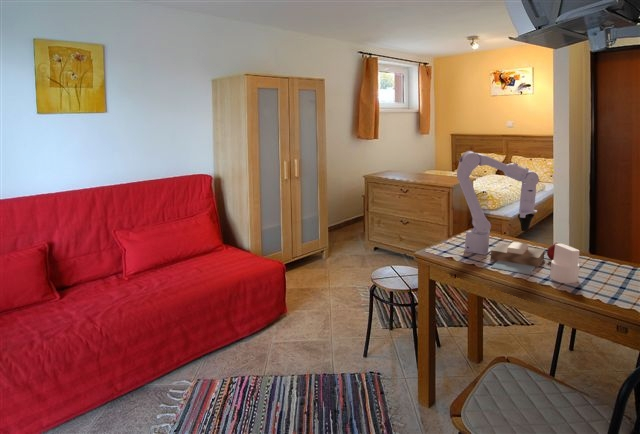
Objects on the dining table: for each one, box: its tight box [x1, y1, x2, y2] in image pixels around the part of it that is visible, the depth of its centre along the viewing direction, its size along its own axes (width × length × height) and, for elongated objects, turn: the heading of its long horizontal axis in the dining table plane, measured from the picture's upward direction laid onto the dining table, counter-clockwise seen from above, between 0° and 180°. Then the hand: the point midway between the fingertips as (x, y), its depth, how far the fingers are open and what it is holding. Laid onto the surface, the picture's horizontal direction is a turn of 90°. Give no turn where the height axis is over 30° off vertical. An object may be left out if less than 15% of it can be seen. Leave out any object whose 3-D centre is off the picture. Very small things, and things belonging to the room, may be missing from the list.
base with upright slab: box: [549, 243, 581, 284], centre depth 160 cm, size 9×9×12 cm
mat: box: [490, 260, 536, 276], centre depth 174 cm, size 14×10×1 cm
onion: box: [546, 242, 559, 261], centre depth 178 cm, size 6×6×8 cm
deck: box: [490, 242, 546, 269], centre depth 183 cm, size 18×12×4 cm, turn 54°
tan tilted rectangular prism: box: [507, 241, 529, 255], centre depth 181 cm, size 6×9×2 cm, turn 144°
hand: (524, 230), depth 188 cm, fingers closed
